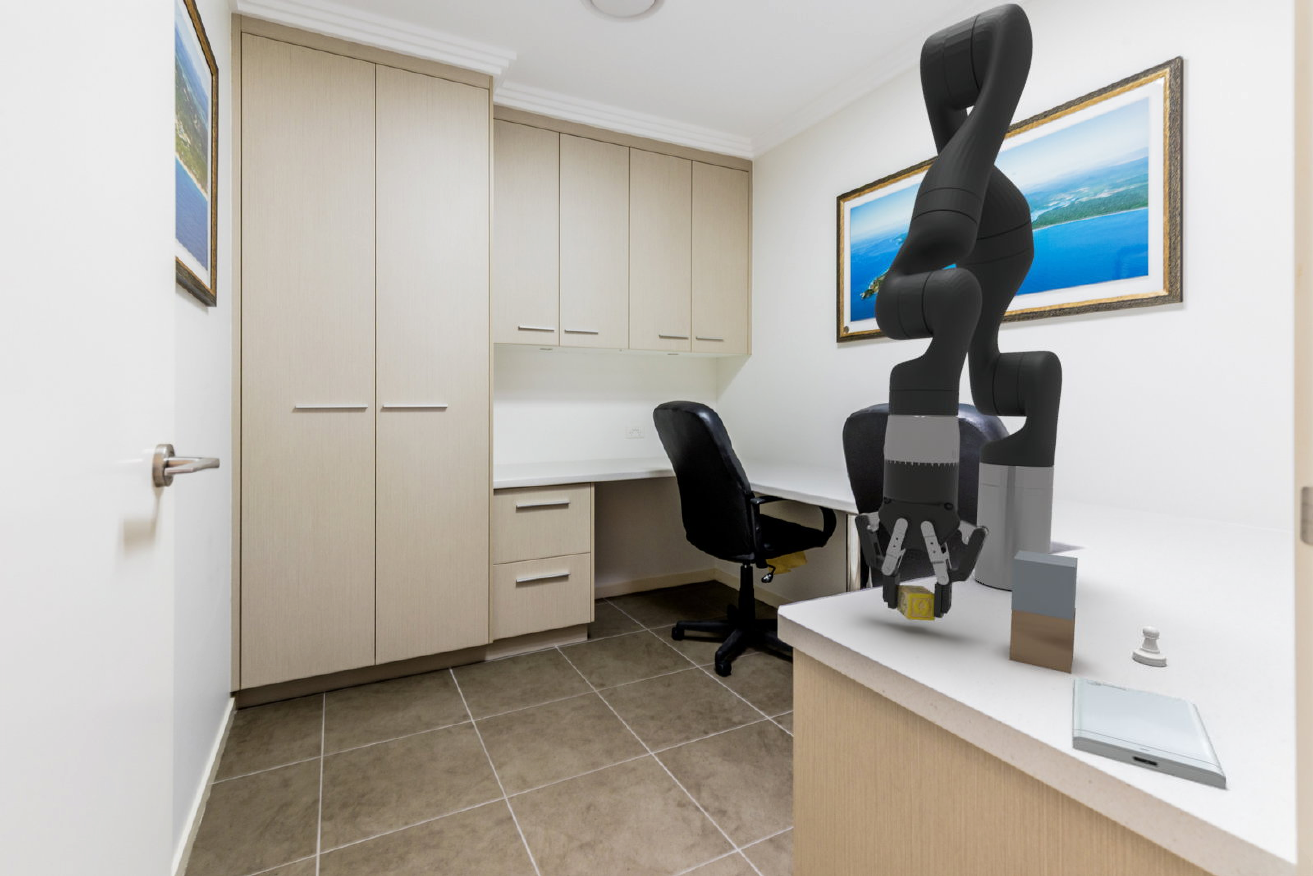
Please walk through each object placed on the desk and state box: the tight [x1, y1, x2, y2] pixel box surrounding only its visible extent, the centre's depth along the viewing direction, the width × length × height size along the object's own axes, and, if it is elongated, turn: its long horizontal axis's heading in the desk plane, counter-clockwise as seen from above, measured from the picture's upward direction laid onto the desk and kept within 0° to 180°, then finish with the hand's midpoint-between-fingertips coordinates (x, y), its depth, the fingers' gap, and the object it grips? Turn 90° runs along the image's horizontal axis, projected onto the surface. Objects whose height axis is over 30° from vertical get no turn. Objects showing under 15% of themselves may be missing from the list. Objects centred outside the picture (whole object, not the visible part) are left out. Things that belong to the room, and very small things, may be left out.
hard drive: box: [1071, 677, 1227, 790], centre depth 47 cm, size 2×8×12 cm
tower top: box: [1010, 550, 1079, 621], centre depth 60 cm, size 5×5×5 cm
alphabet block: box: [896, 584, 936, 622], centre depth 68 cm, size 3×3×3 cm
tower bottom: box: [1008, 607, 1077, 675], centre depth 60 cm, size 5×5×5 cm
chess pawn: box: [1132, 625, 1167, 667], centre depth 60 cm, size 3×3×4 cm
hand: (915, 610), depth 68 cm, fingers closed on alphabet block, 4 cm apart
